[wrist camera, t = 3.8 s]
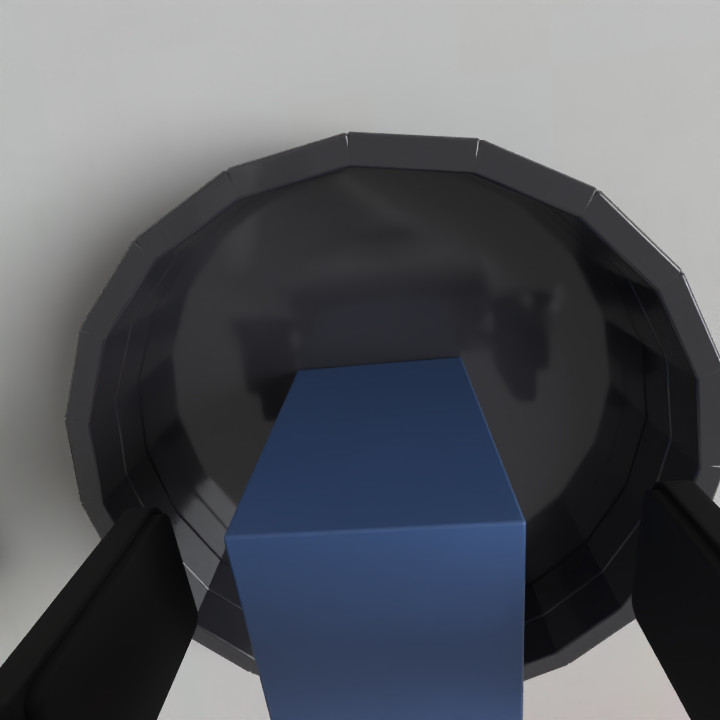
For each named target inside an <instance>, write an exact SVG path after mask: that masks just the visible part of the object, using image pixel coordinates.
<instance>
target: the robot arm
mask: <svg viewBox="0 0 720 720" xmlns="http://www.w3.org/2000/svg"><path fill="white" fill-rule="evenodd" d="M632 607H633V611H634V614H635V617H636V619H637V621H638V623H639V625H640V627H641V629H642V631H643V632H644V634H645V636H646V638H647V640H648V642H649V644H650V645H651V647H652V649H653V651H654V653H655V655H656V656H657V658H658V660H659V662H660V664H661V666H662V667H663V669H664V671H665V673H666V675H667V677H668V679H669V680H670V682H671V684H672V686H673V688H674V690H675V691H676V693H677V695H678V697H679V699H680V701H681V702H682V704H683V706H684V708H685V710H686V712H687V714H688V715H689V717H690V719H691V720H720V508H719V507H718V506H717V505H716V504H715V503H714V502H713V501H712V500H711V499H710V498H709V496H708V495H707V494H706V493H705V492H704V491H703V490H702V489H701V488H700V487H699V486H698V485H697V484H696V483H694V482H693V481H690V480H678V481H658V482H656V483H655V484H654V485H653V488H652V490H647V491H645V493H644V496H643V503H642V512H641V521H640V529H639V538H638V546H637V555H636V564H635V572H634V581H633V589H632ZM197 622H198V611H197V607H196V604H195V600H194V597H193V594H192V590H191V587H190V584H189V580H188V577H187V574H186V570H185V567H184V564H183V560H182V557H181V554H180V550H179V547H178V544H177V540H176V537H175V534H174V530H173V527H172V524H171V520H170V518H169V516H168V515H167V514H163V513H162V511H161V510H160V509H159V508H158V507H139V508H129V509H127V510H126V511H125V512H124V513H123V514H122V515H121V516H120V518H119V519H118V520H117V521H116V523H115V524H114V525H113V527H112V528H111V529H110V530H109V532H108V533H107V534H106V535H105V537H104V538H103V539H102V540H101V542H100V543H99V544H98V545H97V547H96V548H95V549H94V550H93V552H92V553H91V554H90V555H89V557H88V558H87V559H86V560H85V562H84V563H83V564H82V566H81V567H80V568H79V569H78V571H77V572H76V573H75V574H74V576H73V577H72V578H71V579H70V581H69V582H68V583H67V584H66V586H65V587H64V588H63V589H62V591H61V592H60V593H59V594H58V596H57V597H56V598H55V599H54V601H53V602H52V603H51V605H50V606H49V607H48V608H47V610H46V611H45V612H44V613H43V615H42V616H41V617H40V618H39V620H38V621H37V622H36V623H35V625H34V626H33V627H32V628H31V630H30V631H29V632H28V633H27V635H26V636H25V637H24V638H23V640H22V641H21V642H20V644H19V645H18V646H17V647H16V649H15V650H14V651H13V652H12V654H11V655H10V656H9V657H8V659H7V660H6V661H5V662H4V664H3V665H2V666H1V667H0V720H157V718H158V716H159V713H160V711H161V709H162V706H163V704H164V702H165V699H166V697H167V695H168V692H169V690H170V688H171V686H172V683H173V681H174V679H175V676H176V674H177V672H178V669H179V667H180V665H181V662H182V660H183V658H184V656H185V653H186V651H187V649H188V646H189V644H190V642H191V639H192V637H193V635H194V632H195V630H196V627H197Z"/></svg>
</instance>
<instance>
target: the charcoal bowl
mask: <svg viewBox="0 0 720 720" xmlns="http://www.w3.org/2000/svg"><path fill="white" fill-rule="evenodd" d="M457 357H460V358H461V359H462V361H463V364H464V366H465V369H466V372H467V374H468V377H469V379H470V382H471V384H472V387H473V389H474V392H475V394H476V397H477V400H478V402H479V405H480V407H481V410H482V412H483V415H484V417H485V420H486V422H487V425H488V428H489V430H490V433H491V435H492V438H493V440H494V443H495V445H496V448H497V450H498V453H499V456H500V458H501V461H502V463H503V466H504V468H505V471H506V473H507V476H508V478H509V481H510V484H511V486H512V489H513V491H514V494H515V496H516V499H517V501H518V504H519V506H520V509H521V512H522V514H523V517H524V519H525V522H526V549H525V609H524V669H523V681H525V680H528V679H531V678H533V677H536V676H539V675H541V674H544V673H547V672H550V671H552V670H555V669H558V668H561V667H563V666H566V665H568V663H571V662H573V661H574V660H576V659H577V658H579V657H580V656H582V655H583V654H585V653H586V652H588V651H589V650H590V649H592V648H593V647H595V646H596V645H598V644H599V643H601V642H602V641H604V640H605V639H607V638H608V637H610V636H611V635H612V634H614V633H615V632H617V631H618V630H620V629H621V628H623V627H624V626H626V625H627V624H629V623H630V622H632V621H633V620H634V619H636V617H635V614H634V611H633V607H632V589H633V581H634V572H635V564H636V555H637V546H638V538H639V529H640V521H641V512H642V503H643V496H644V493H645V491H647V490H652V488H653V485H654V484H655V483H656V482H658V481H678V480H690V481H693V482H694V483H696V484H697V485H698V486H699V487H700V488H701V489H702V490H703V491H704V492H705V493H706V494H707V495H708V496H709V498H710V499H711V500H712V501H713V499H714V496H715V493H716V491H717V488H718V485H719V483H720V355H719V353H718V351H717V348H716V346H715V344H714V342H713V339H712V337H711V335H710V332H709V330H708V328H707V325H706V323H705V321H704V318H703V316H702V314H701V311H700V309H699V307H698V304H697V302H696V300H695V297H694V295H693V293H692V291H691V288H690V286H689V284H688V281H687V279H686V277H685V274H684V273H683V272H682V271H681V268H680V267H679V266H678V265H676V264H675V263H674V262H673V261H672V260H671V259H670V258H669V257H668V256H667V255H666V254H665V253H664V252H663V251H662V250H661V249H660V248H659V247H658V246H657V245H656V244H655V243H654V242H653V241H652V240H651V239H650V238H649V237H648V236H647V235H646V234H645V233H644V232H643V231H641V230H640V229H639V228H638V227H637V226H636V225H635V224H634V223H633V222H632V221H631V220H630V219H629V218H628V217H627V216H626V215H625V214H624V213H623V212H622V211H621V210H620V209H619V208H618V207H617V206H616V205H615V204H614V203H613V202H612V201H611V200H610V199H609V198H607V197H606V196H605V195H604V194H603V193H602V192H601V191H599V190H597V189H596V188H595V187H593V186H591V185H589V184H586V183H584V182H582V181H579V180H577V179H575V178H572V177H570V176H567V175H565V174H563V173H560V172H558V171H556V170H553V169H551V168H549V167H546V166H544V165H542V164H539V163H537V162H534V161H532V160H530V159H527V158H525V157H523V156H520V155H518V154H516V153H513V152H511V151H508V150H506V149H504V148H501V147H499V146H497V145H494V144H492V143H490V142H487V141H485V140H479V139H478V138H464V137H444V136H424V135H405V134H385V133H365V132H348V134H347V133H342V134H338V135H335V136H332V137H329V138H325V139H322V140H319V141H315V142H312V143H309V144H306V145H302V146H299V147H296V148H292V149H289V150H286V151H283V152H279V153H276V154H273V155H269V156H266V157H263V158H260V159H256V160H253V161H250V162H246V163H243V164H240V165H237V166H233V167H230V168H228V169H227V171H222V172H221V173H220V174H218V175H217V176H216V177H214V178H213V179H212V180H211V181H209V182H208V183H207V184H205V185H204V186H203V187H201V188H200V189H199V190H197V191H196V192H195V193H194V194H192V195H191V196H190V197H188V198H187V199H186V200H184V201H183V202H182V203H180V204H179V205H178V206H177V207H175V208H174V209H173V210H171V211H170V212H169V213H167V214H166V215H165V216H163V217H162V218H161V219H160V220H158V221H157V222H156V223H154V224H153V225H152V226H150V227H149V228H148V229H146V230H145V231H144V232H142V233H141V234H140V235H139V236H137V237H136V239H135V241H133V242H132V243H131V245H130V246H129V248H128V250H127V251H126V253H125V255H124V256H123V258H122V260H121V261H120V263H119V265H118V266H117V268H116V270H115V271H114V273H113V274H112V276H111V278H110V279H109V281H108V283H107V284H106V286H105V288H104V289H103V291H102V293H101V294H100V296H99V298H98V299H97V301H96V303H95V304H94V306H93V307H92V309H91V311H90V312H89V314H88V316H87V317H86V319H85V321H84V322H83V324H82V328H81V330H80V333H79V339H78V345H77V351H76V357H75V363H74V368H73V374H72V380H71V386H70V392H69V398H68V404H67V410H66V416H65V417H66V420H65V423H66V428H67V433H68V438H69V443H70V448H71V454H72V459H73V464H74V469H75V474H76V479H77V484H78V489H79V494H80V500H81V502H82V506H83V508H84V510H85V511H86V513H87V515H88V517H89V518H90V520H91V522H92V524H93V525H94V527H95V529H96V531H97V532H98V534H99V536H100V538H101V540H102V539H103V538H104V537H105V535H106V534H107V533H108V532H109V530H110V529H111V528H112V527H113V525H114V524H115V523H116V521H117V520H118V519H119V518H120V516H121V515H122V514H123V513H124V512H125V511H126V510H127V509H129V508H139V507H158V508H159V509H160V510H161V511H162V513H163V514H167V515H168V516H169V518H170V520H171V524H172V527H173V530H174V534H175V537H176V540H177V544H178V547H179V550H180V554H181V557H182V560H183V564H184V567H185V570H186V574H187V577H188V580H189V584H190V587H191V590H192V594H193V597H194V600H195V604H196V607H197V611H198V622H197V627H196V630H195V632H194V635H193V637H192V639H193V640H195V641H196V642H198V643H200V644H202V645H203V646H205V647H207V648H208V649H210V650H212V651H214V652H215V653H217V654H219V655H221V656H222V657H224V658H226V659H227V660H229V661H231V662H233V663H234V664H236V665H238V666H240V667H241V668H243V669H245V670H246V671H249V672H250V671H251V673H253V674H256V675H259V673H258V669H257V665H256V661H255V657H254V653H253V650H252V646H251V642H250V638H249V634H248V630H247V627H246V623H245V619H244V615H243V611H242V607H241V603H240V600H239V596H238V592H237V588H236V584H235V580H234V577H233V573H232V569H231V565H230V561H229V557H228V554H227V550H226V546H225V542H224V536H225V533H226V531H227V529H228V527H229V524H230V522H231V520H232V518H233V515H234V513H235V511H236V509H237V506H238V504H239V502H240V500H241V497H242V495H243V493H244V491H245V489H246V486H247V484H248V482H249V480H250V477H251V475H252V473H253V471H254V468H255V466H256V464H257V462H258V459H259V457H260V455H261V453H262V450H263V448H264V446H265V444H266V441H267V439H268V437H269V435H270V432H271V430H272V428H273V426H274V423H275V421H276V419H277V417H278V414H279V412H280V410H281V408H282V405H283V403H284V401H285V399H286V396H287V394H288V392H289V390H290V387H291V385H292V383H293V381H294V378H295V376H296V374H297V372H298V371H299V370H309V369H322V368H334V367H346V366H359V365H371V364H383V363H395V362H408V361H420V360H432V359H445V358H457Z"/></svg>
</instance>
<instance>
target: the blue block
mask: <svg viewBox="0 0 720 720" xmlns="http://www.w3.org/2000/svg"><path fill="white" fill-rule="evenodd" d="M224 542H225V546H226V550H227V554H228V557H229V561H230V565H231V569H232V573H233V577H234V580H235V584H236V588H237V592H238V596H239V600H240V603H241V607H242V611H243V615H244V619H245V623H246V627H247V630H248V634H249V638H250V642H251V646H252V650H253V653H254V657H255V661H256V665H257V669H258V673H259V676H260V680H261V684H262V688H263V692H264V696H265V700H266V703H267V707H268V711H269V715H270V719H271V720H523V669H524V609H525V549H526V522H525V519H524V517H523V514H522V512H521V509H520V506H519V504H518V501H517V499H516V496H515V494H514V491H513V489H512V486H511V484H510V481H509V478H508V476H507V473H506V471H505V468H504V466H503V463H502V461H501V458H500V456H499V453H498V450H497V448H496V445H495V443H494V440H493V438H492V435H491V433H490V430H489V428H488V425H487V422H486V420H485V417H484V415H483V412H482V410H481V407H480V405H479V402H478V400H477V397H476V394H475V392H474V389H473V387H472V384H471V382H470V379H469V377H468V374H467V372H466V369H465V366H464V364H463V361H462V359H461V358H460V357H457V358H445V359H432V360H420V361H408V362H395V363H383V364H371V365H359V366H346V367H334V368H322V369H309V370H299V371H298V372H297V374H296V376H295V378H294V381H293V383H292V385H291V387H290V390H289V392H288V394H287V396H286V399H285V401H284V403H283V405H282V408H281V410H280V412H279V414H278V417H277V419H276V421H275V423H274V426H273V428H272V430H271V432H270V435H269V437H268V439H267V441H266V444H265V446H264V448H263V450H262V453H261V455H260V457H259V459H258V462H257V464H256V466H255V468H254V471H253V473H252V475H251V477H250V480H249V482H248V484H247V486H246V489H245V491H244V493H243V495H242V497H241V500H240V502H239V504H238V506H237V509H236V511H235V513H234V515H233V518H232V520H231V522H230V524H229V527H228V529H227V531H226V533H225V536H224Z"/></svg>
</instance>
